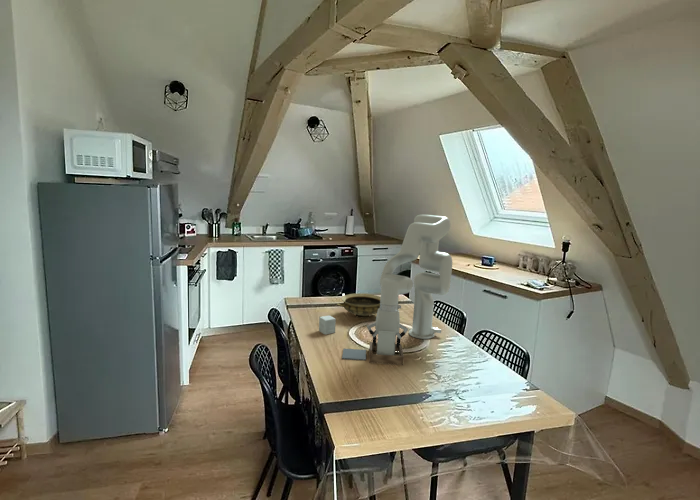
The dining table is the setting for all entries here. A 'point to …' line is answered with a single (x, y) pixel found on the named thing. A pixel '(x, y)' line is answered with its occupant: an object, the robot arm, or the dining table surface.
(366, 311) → the ceramic bowl
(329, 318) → the product box
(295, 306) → the dining table surface
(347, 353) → the pad
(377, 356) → the wooden square frame
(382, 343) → the supplement box
